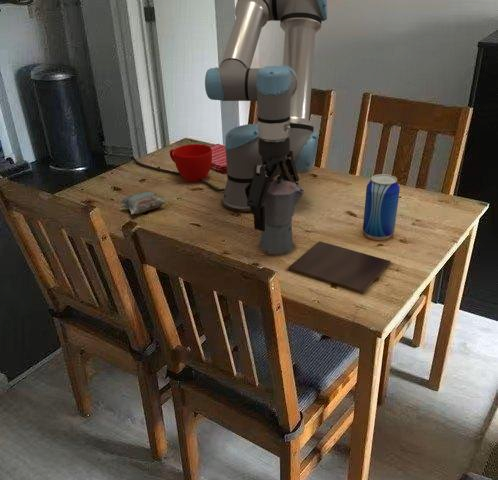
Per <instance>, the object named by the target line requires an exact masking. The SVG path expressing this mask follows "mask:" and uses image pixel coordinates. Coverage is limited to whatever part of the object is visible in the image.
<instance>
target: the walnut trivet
mask: <svg viewBox="0 0 498 480" xmlns="http://www.w3.org/2000/svg"><path fill="white" fill-rule="evenodd" d="M390 264H391V260H388V259H384V258H381V257H377V256H374V255H371V254H366V253H364V252H360V251H356V250H352V249H350V248H345V247H342V246H338V245H334V244H331V243H328V242H325V241H318V242H316V244H314V245H313V246H312V247H310V249H308V250H307V251H306V252H304V254H302V255H301V256H300V257H298V258H297V259H296V260H295V261H294V262H293V263H292V264H291V265H289V266H288V268H287V269H288V271H289V272H293V273H295V274H299V275H302V276H306V277H309V278H312V279H315V280H318V281H321V282H325V283H327V284H330V285H334V286H337V287H340V288H343V289H346V290H350V291H352V292H356V293H359V294H362V295H363V294H364V293H365V292H366V291H367V290H368V288H369V287H370V286H371V285H372V284H373V283H374V282H375V281H376V280H377V279H378V278H379V277H380V276H381V275H382V273H384V271H386V269H387V268H388V267H389V266H390Z"/></svg>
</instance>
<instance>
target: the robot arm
mask: <svg viewBox="0 0 498 480" xmlns="http://www.w3.org/2000/svg"><path fill="white" fill-rule="evenodd" d="M234 17H235V19H234V22H233V26H232V28H231V31H230V34H229V37H228V40H227V42H226V43H227V44H226V46H225V49H224V52H223V55H222V57H221V61H220V63H219V67H217V66H215V67H210V68H209V69H207V70H206V72H205V76H204V88H205V94H206V96H207V98H208V99H209V100H212V101H222V102H256V103H257V105H256V106H257V123H248V124H247V123H246V124H243V125H239V126H236V127H234V128H233V127H232V128H231V129H229V131H227V133H226V134H225V145H224V146H225V150H226V163H227V172H226V176H227V178H226V179H227V180H226V184H225V187H224V188H218V187H215V186H213V184H211V183H210V182H207V181H206V180H205V179H204V180H201V179H200V180H199V182H201V183H203V184H205V185H207V186H209V187H210V188H211V189H213V190H214V191H217V192H223V194H222V205H223V206H224V207H225V209H228V210H229V211H230V210H231V211H233V212H237V213H252V211H251V208H250V206H251V207H253V213H254V214H252V215H253V225H254V226H253V229H254V230H256V231H259V232H262V231H263V232H264V231H265V206H263V203H264V200H265V197H266V195H267V192H268V189H269V186H270V184H271V182H273V181H274V180H275V178H277V177H278V176H282V177H283V180H287V181H290V182H293V183H296V185H297V187H299V183H298V182H299V181H300V176H299V174H308V173H310V172H311V171H312V169H313V167H314V163H315V159H316V155H317V150H318V145H319V144H318V143H319V134H318V132H316V131H314V129H315V126H314V125H313V124H312V122H311V121H310V112H311V111H310V110H311V101H312V100H311V99H312V84H313V70H314V69H313V68H314V58H315V57H314V55H315V43H316V34H317V32H319V31H320V30H321V28H322V22H325V21H327V20H328V0H237V1H236V3H235V7H234ZM272 21H273V22H275V21H276V22H279V27H280V28H281V29H282V31H283V32H284V41H283V55H282V56H283V57H282V65H268V66H264V67H260V68H259V67H258V68H257V67H256V68H255V67H254V68H253V67H252V63H253V60H254V56H255V53H256V49H257V46H258V42H259V39H260V36H261V32H262V29H263V28H264V27H265V26H266V25H267V23H268V22H272ZM130 160H131V161H134V162H135V164H138V165H139V166H141V167H145V168H147V169H151V170H156V171H160V172H164V173H170V174H173V175H178V176H181V174H180V173H179V172H178V171H173V170H168V169H163V168H161V167H155V166H151V165H148V164H145V163H142V162H139V161H138V160H137V159H136V157H135V156H131V158H130ZM251 181H252V184H251V189H250V193H249V197H248V199H247V196H246V194H245V188H246V187H247V185H249V184H250V183H251Z"/></svg>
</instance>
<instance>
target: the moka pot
mask: <svg viewBox="0 0 498 480" xmlns="http://www.w3.org/2000/svg"><path fill="white" fill-rule="evenodd" d="M296 183H297V182H296ZM296 183H293V182H290V181H287V180H283V177H282V176H280V175H277V176H276V179H274V181H273V182H271V184H270V186H269V189H268V192H267V195H266V197H265V200H264V203H263V206H265V231H264V232H263V231H261V234H260V240H259V248H260V249H261V251H262V252H264V253H266V254H270V255H276V256H278V255H286V254H289V253H290V252H292V250H293V249H294V239H293V226H292V225H293V224H292V220H293V216H294V215H295V212H296V211H295V210H296V206H297V205H298V203H299V201H300V200H301V198H302V197H303V195H304V194H306V191H305V189H304V188H302V187H299V186H297V185H296ZM251 184H252V181H251V183H250V184H249V185H247V187H246V188H245V194H246V196H247V199H248V197H249V193H250V189H251ZM250 208H251V211H252V212H251V214H252V215H253V214H254V213H253V207H251V206H250Z"/></svg>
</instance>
